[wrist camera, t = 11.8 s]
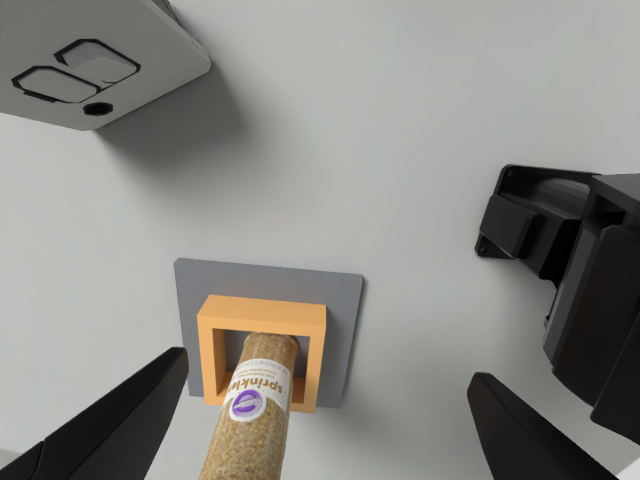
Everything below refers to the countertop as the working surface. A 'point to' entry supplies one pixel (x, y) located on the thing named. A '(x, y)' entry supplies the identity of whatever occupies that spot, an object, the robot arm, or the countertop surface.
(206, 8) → the countertop surface
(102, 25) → the electrical switch
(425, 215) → the countertop surface
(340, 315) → the socket
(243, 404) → the sprinkles bottle
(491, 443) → the robot arm
